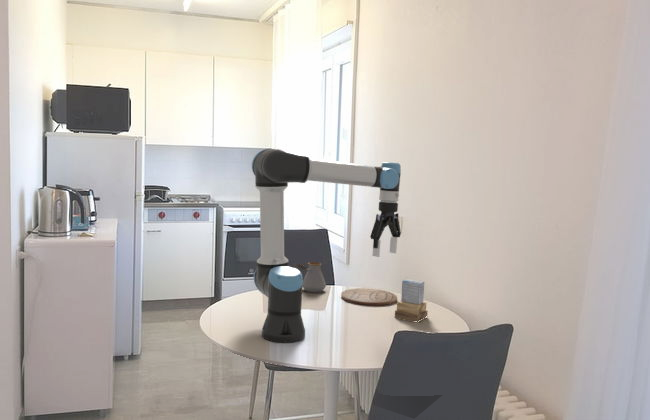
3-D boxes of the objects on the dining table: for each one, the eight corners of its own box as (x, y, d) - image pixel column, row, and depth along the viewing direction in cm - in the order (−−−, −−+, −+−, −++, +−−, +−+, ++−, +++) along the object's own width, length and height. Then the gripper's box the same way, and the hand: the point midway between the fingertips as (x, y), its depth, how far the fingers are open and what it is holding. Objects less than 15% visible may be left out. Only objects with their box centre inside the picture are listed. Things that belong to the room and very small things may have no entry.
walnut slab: (417, 324, 222) (418, 315, 221) (394, 319, 227) (395, 310, 227) (427, 319, 229) (427, 310, 229) (404, 314, 235) (405, 306, 234)
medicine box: (423, 302, 227) (424, 281, 226) (418, 305, 223) (420, 283, 222) (405, 299, 231) (406, 278, 231) (400, 301, 228) (402, 280, 227)
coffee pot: (310, 286, 273) (311, 255, 271) (330, 290, 267) (332, 258, 265) (283, 294, 255) (285, 261, 253) (304, 299, 249) (306, 265, 247)
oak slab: (417, 314, 222) (417, 306, 222) (396, 310, 227) (397, 301, 227) (426, 310, 229) (426, 302, 228) (405, 306, 234) (406, 298, 234)
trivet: (338, 304, 244) (338, 300, 244) (343, 290, 269) (343, 286, 269) (397, 308, 241) (397, 304, 241) (396, 294, 266) (397, 290, 266)
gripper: (381, 203, 212) (376, 259, 214) (411, 201, 233) (407, 252, 235) (363, 201, 217) (359, 256, 219) (395, 199, 237) (391, 250, 239)
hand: (384, 254), depth 227 cm, fingers open, 13 cm apart
